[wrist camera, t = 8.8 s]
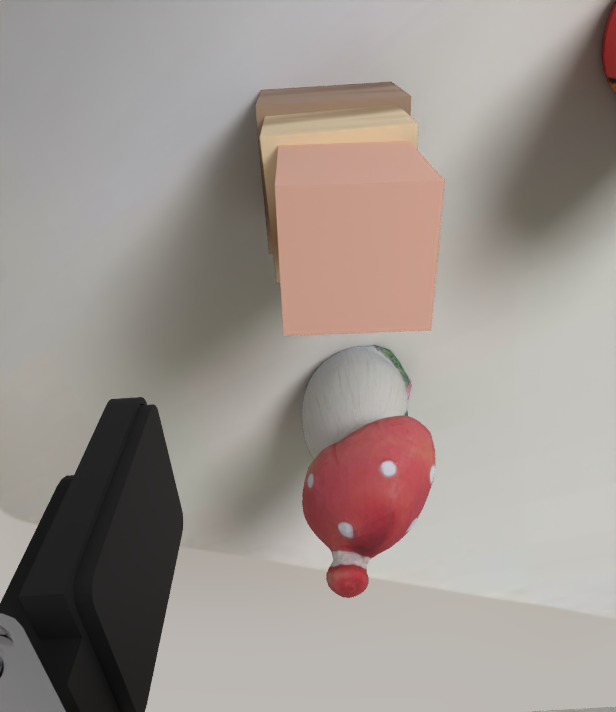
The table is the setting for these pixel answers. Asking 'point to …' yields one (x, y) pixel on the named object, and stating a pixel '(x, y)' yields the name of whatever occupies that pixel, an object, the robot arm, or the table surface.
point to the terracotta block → (357, 237)
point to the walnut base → (323, 107)
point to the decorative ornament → (362, 460)
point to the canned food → (610, 49)
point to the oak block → (328, 140)
